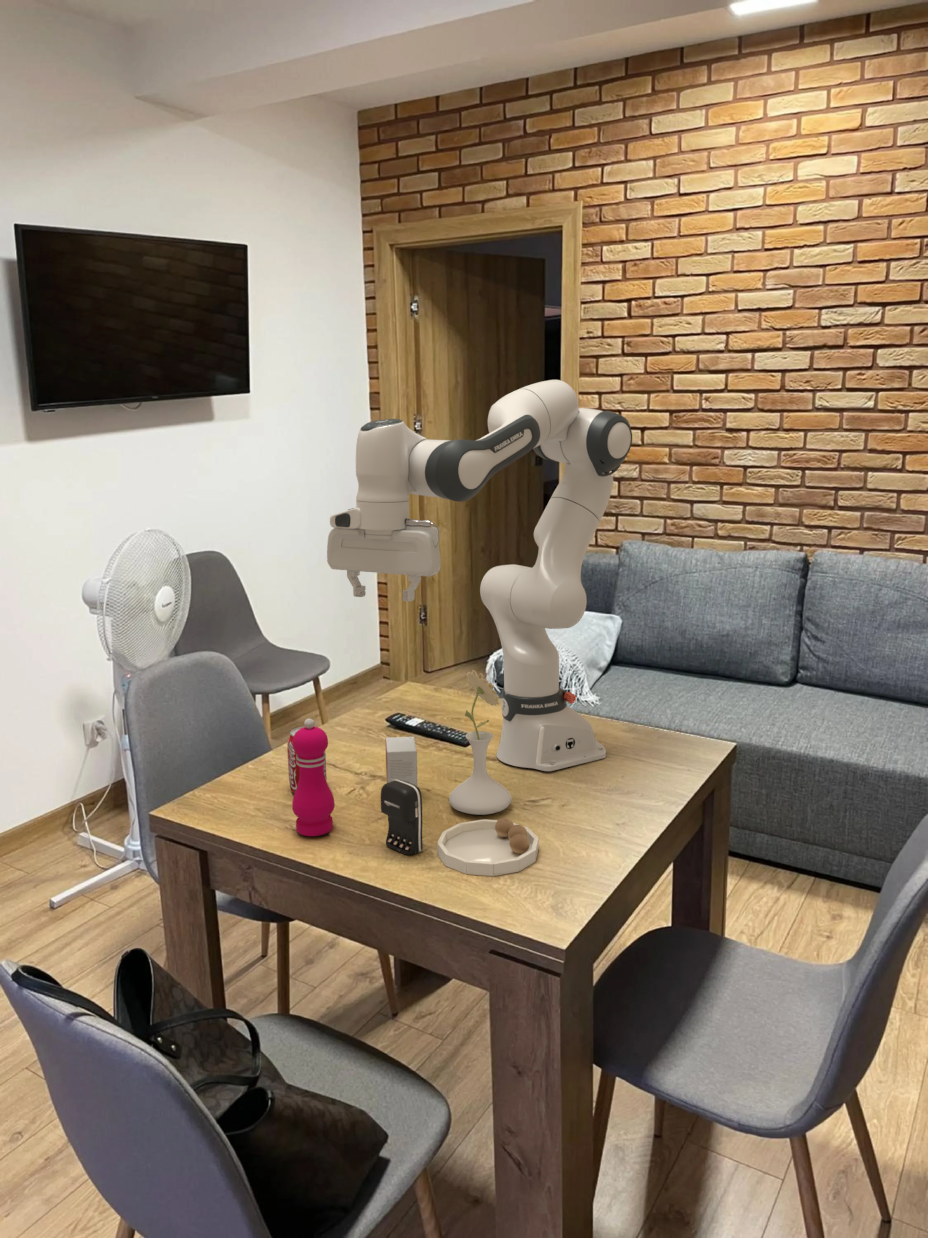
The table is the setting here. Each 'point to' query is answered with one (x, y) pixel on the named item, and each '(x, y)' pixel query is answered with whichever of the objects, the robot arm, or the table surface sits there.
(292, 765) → the soda can
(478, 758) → the flower in vase
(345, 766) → the table surface
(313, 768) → the pepper mill
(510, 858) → the tray
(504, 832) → the bead
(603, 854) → the table surface
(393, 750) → the small box
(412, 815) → the battery charger
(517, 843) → the bead
